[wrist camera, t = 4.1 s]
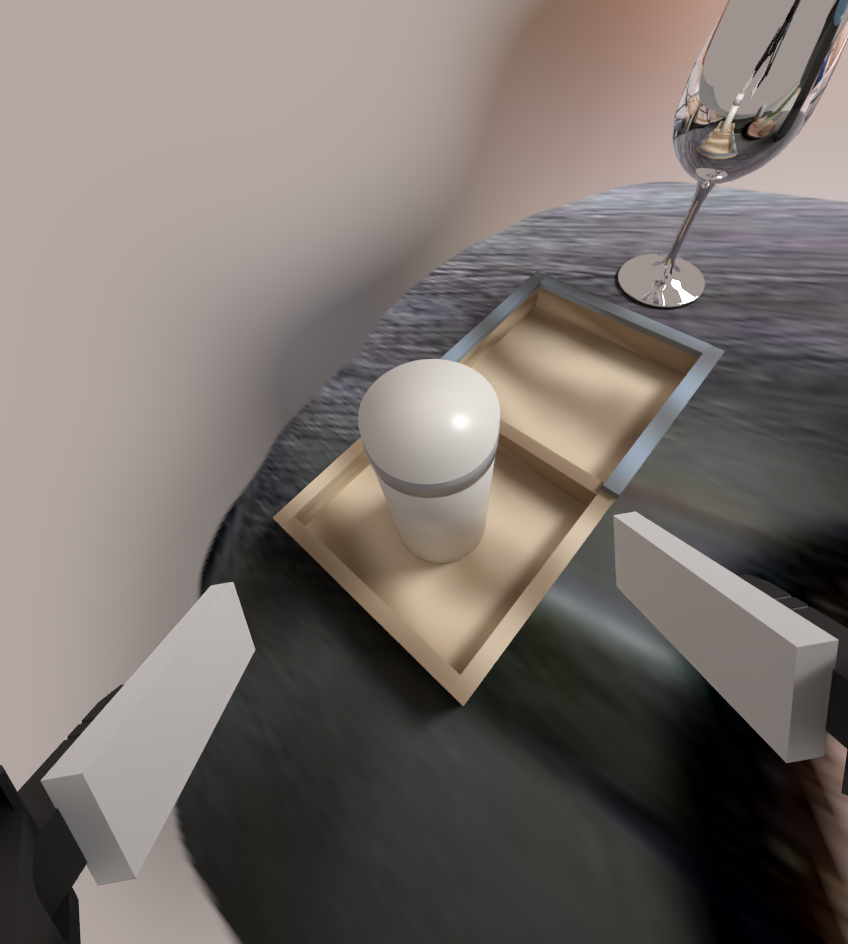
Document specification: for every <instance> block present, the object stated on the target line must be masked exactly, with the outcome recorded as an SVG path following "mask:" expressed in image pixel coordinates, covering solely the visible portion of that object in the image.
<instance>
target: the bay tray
mask: <svg viewBox="0 0 848 944" xmlns="http://www.w3.org/2000/svg"><path fill="white" fill-rule="evenodd" d="M724 352H725V351H723V350H720V349H718V348H716V347H713V346H711V345H710V344H708V343H705V342H703V341H701V340H698V339H696V338H694V337H691V336H689V335H686V334H684V333H682V332H679V331H677V330H675V329H672V328H670V327H668V326H665V325H663V324H661V323H658V322H656V321H654V320H651V319H649V318H647V317H644V316H642V315H639V314H637V313H635V312H632V311H630V310H628V309H625V308H623V307H621V306H618V305H616V304H614V303H611V302H609V301H607V300H604V299H602V298H600V297H597V296H595V295H593V294H590V293H588V292H585V291H583V290H581V289H578V288H576V287H574V286H571V285H569V284H567V283H564V282H562V281H560V280H557V279H555V278H553V277H550V276H548V275H545V274H542V273H540V272H537V271H536V272H535V273H534V274H533V275H532V276H531V277H530V278H529V279H527V280H526V281H525V282H524V283H523V284H522V285H521V286H520V287H519V288H518V289H516V290H515V291H514V292H513V293H512V294H511V295H510V296H509V297H508V298H507V299H505V300H504V301H503V302H502V303H501V304H500V305H499V306H498V307H497V308H496V309H494V310H493V311H492V312H491V313H490V314H489V315H488V316H487V317H486V318H485V319H483V320H482V321H481V322H480V323H479V324H478V325H477V326H476V327H475V328H474V329H472V330H471V331H470V332H469V333H468V334H467V335H466V336H465V337H464V338H463V339H461V340H460V341H459V342H458V343H457V344H456V345H455V346H454V347H453V348H451V349H450V350H449V351H448V352H447V353H446V354H445V355H444V356H443V357H442V358H440V359H443V360H450V361H454V362H458V363H460V364H463V365H466V366H468V367H470V368H472V369H474V370H475V371H477V372H478V373H480V374H481V375H482V376H483V377H484V378H485V379H486V380H487V381H488V382H489V383H490V384H491V386H492V387H493V389H494V390H495V393H496V395H497V397H498V401H499V404H500V430H499V439H498V446H497V451H496V455H495V459H494V467H493V474H492V482H491V489H490V496H489V504H488V511H487V518H486V526H485V531H484V534H483V537H482V539H481V541H480V543H479V544H478V546H477V547H476V548H475V549H474V550H473V551H472V552H471V553H470V554H469V555H467V556H466V557H464V558H462V559H460V560H458V561H454V562H451V563H432V562H428V561H425V560H422V559H420V558H418V557H417V556H415V555H414V554H412V553H411V552H410V551H409V550H408V549H407V548H406V546H405V545H404V543H403V542H402V540H401V538H400V535H399V532H398V530H397V527H396V525H395V522H394V520H393V517H392V514H391V512H390V509H389V507H388V504H387V501H386V499H385V496H384V494H383V491H382V489H381V486H380V483H379V481H378V478H377V476H376V473H375V471H374V469H373V467H372V466H371V463H370V461H369V458H368V455H367V453H366V450H365V448H364V445H363V441H362V437H360V438H359V439H358V440H357V441H356V442H355V443H354V444H353V445H352V446H350V447H349V448H348V449H347V450H346V451H345V452H344V453H343V454H342V455H341V456H340V457H338V458H337V459H336V460H335V461H334V462H333V463H332V464H331V465H330V466H329V467H328V468H326V469H325V470H324V471H323V472H322V473H321V474H320V475H319V476H318V477H317V478H315V479H314V480H313V481H312V482H311V483H310V484H309V485H308V486H307V487H306V488H305V489H303V490H302V491H301V492H300V493H299V494H298V495H297V496H296V497H295V498H294V499H293V500H291V501H290V502H289V503H288V504H287V505H286V506H285V507H284V508H283V509H282V510H281V511H279V512H278V513H277V514H276V515H275V516H274V517H273V519H274V520H275V521H276V522H277V523H278V524H279V525H280V526H281V527H282V528H283V529H284V530H285V531H286V532H287V533H288V534H289V535H290V536H291V537H292V538H293V539H294V540H295V541H296V542H297V543H298V544H299V545H300V546H301V547H302V548H304V549H305V550H306V551H307V552H308V553H309V554H310V555H311V556H312V557H313V558H314V559H315V560H316V561H317V562H318V563H319V564H320V565H321V566H322V567H323V568H324V569H325V570H326V571H327V572H328V573H329V574H330V575H331V576H332V577H333V578H334V579H335V580H336V581H337V582H338V583H339V584H340V585H341V586H342V587H343V588H344V589H345V590H346V591H347V592H348V593H349V594H350V595H351V596H352V597H353V598H354V599H355V600H356V601H357V602H358V603H359V604H360V605H361V606H362V607H363V608H364V609H365V610H366V611H367V612H368V613H369V614H370V615H371V616H372V617H373V618H374V619H375V620H376V621H377V622H378V623H379V624H380V625H381V626H382V627H383V628H384V629H385V630H386V631H387V632H388V633H390V634H391V635H392V636H393V637H394V638H395V639H396V640H397V641H398V642H399V643H400V644H401V645H402V646H403V647H404V648H405V649H406V650H407V651H408V652H409V653H410V654H411V655H412V656H413V657H414V658H415V659H416V660H417V661H418V662H419V663H420V664H421V665H422V666H423V667H424V668H425V669H426V670H427V671H428V672H429V673H430V674H431V675H432V676H433V677H434V678H435V679H436V680H437V681H438V682H439V683H440V684H441V685H442V686H443V687H444V688H445V689H446V690H447V691H448V692H449V693H450V694H451V695H452V696H453V697H454V698H455V699H456V700H457V701H458V702H459V703H460V704H461V705H462V706H464V705H465V703H466V702H467V701H468V699H469V698H470V696H471V695H472V694H473V692H474V691H475V690H476V688H477V687H478V686H479V684H480V683H481V681H482V680H483V679H484V677H485V676H486V675H487V673H488V672H489V671H490V669H491V668H492V666H493V665H494V664H495V662H496V661H497V660H498V658H499V657H500V656H501V654H502V653H503V651H504V650H505V649H506V647H507V646H508V645H509V643H510V642H511V641H512V639H513V638H514V637H515V635H516V634H517V632H518V631H519V630H520V628H521V627H522V626H523V624H524V623H525V622H526V620H527V619H528V617H529V616H530V615H531V613H532V612H533V611H534V609H535V608H536V607H537V605H538V604H539V602H540V601H541V600H542V598H543V597H544V596H545V594H546V593H547V592H548V590H549V589H550V587H551V586H552V585H553V583H554V582H555V581H556V579H557V578H558V577H559V575H560V574H561V572H562V571H563V570H564V568H565V567H566V566H567V564H568V563H569V562H570V560H571V559H572V557H573V556H574V555H575V553H576V552H577V551H578V549H579V548H580V547H581V545H582V544H583V542H584V541H585V540H586V538H587V537H588V536H589V534H590V533H591V532H592V530H593V529H594V527H595V526H596V525H597V523H598V522H599V521H600V519H601V518H602V517H603V515H604V514H605V512H606V511H607V510H608V508H609V507H610V506H611V504H612V503H613V502H614V500H615V499H617V498H618V496H619V495H620V494H621V492H622V491H623V490H624V488H625V487H626V486H627V484H628V483H629V481H630V480H631V479H632V477H633V476H634V475H635V473H636V472H637V471H638V469H639V468H640V466H641V465H642V464H643V462H644V461H645V460H646V458H647V457H648V455H649V454H650V453H651V451H652V450H653V449H654V447H655V446H656V445H657V443H658V442H659V440H660V439H661V438H662V436H663V435H664V434H665V432H666V431H667V430H668V428H669V427H670V425H671V424H672V423H673V421H674V420H675V419H676V417H677V416H678V415H679V413H680V412H681V410H682V409H683V408H684V406H685V405H686V404H687V402H688V401H689V399H690V398H691V397H692V395H693V394H694V393H695V391H696V390H697V389H698V387H699V386H700V384H701V383H702V382H703V380H704V379H705V378H706V376H707V375H708V374H709V372H710V371H711V369H712V368H713V367H714V365H715V364H716V363H717V361H718V360H719V359H720V357H721V356H722V354H723V353H724Z"/></svg>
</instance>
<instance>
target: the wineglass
mask: <svg viewBox="0 0 848 944" xmlns="http://www.w3.org/2000/svg"><path fill="white" fill-rule="evenodd" d="M847 40H848V0H728V1H727V3H726V5H725V7H724V8H723V10H722V12H721V14H720V16H719V18H718V20H717V22H716V24H715V26H714V28H713V30H712V31H711V33H710V35H709V37H708V39H707V41H706V43H705V45H704V47H703V49H702V51H701V53H700V55H699V57H698V59H697V61H696V63H695V66H694V67H693V70H692V72H691V74H690V76H689V79H688V81H687V84H686V86H685V88H684V91H683V93H682V95H681V98H680V100H679V104H678V107H677V111H676V114H675V118H674V125H673V137H672V139H673V144H674V150H675V154H676V157H677V159H678V161H679V162H680V164H681V165H682V167H683V169H684V170H685V172H687V173H688V174H689V175H690V176H691V177H693V178H694V179H695V180H697V186H696V191H695V194H694V197H693V200H692V203H691V205H690V207H689V210H688V212H687V214H686V217H685V219H684V221H683V223H682V225H681V227H680V230H679V232H678V234H677V236H676V238H675V240H674V243H673V245H672V247H671V249H670V251H669V253H668V255H664V254H647V255H641V256H637V257H635V258H632V259H630V260H629V261H627V262H626V263H625V264H624V265H623V266H622V267H621V268H620V270H619V272H618V283H619V285H620V287H621V289H622V290H623V291H624V292H625V293H626V294H627V295H628V296H629V297H631V298H633V299H634V300H636V301H638V302H641V303H643V304H646V305H650V306H654V307H661V308H673V307H680V306H684V305H687V304H690V303H692V302H694V301H695V300H697V299H698V298H699V297H700V296H701V295H702V294H703V291H704V289H705V280H704V276H703V275H702V273H701V272H700V271H699V270H698V269H697V268H696V267H695V266H694V265H692V264H691V263H689V262H687V261H686V260H684V259H681V258H678V257H676V256H677V254H678V252H679V249H680V247H681V245H682V243H683V241H684V239H685V237H686V235H687V233H688V231H689V229H690V227H691V225H692V223H693V221H694V219H695V217H696V215H697V213H698V211H699V209H700V207H701V205H702V203H703V202H704V200H705V199H706V197H707V195H708V194H709V192H710V191H711V190H712V188H713V187H714V186H715V185H716V184H720V183H724V182H728V181H733V180H736V179H738V178H741V177H743V176H745V175H747V174H749V173H752V172H754V171H756V170H758V169H759V168H761V167H763V166H764V165H765V164H766V163H768V162H769V161H771V160H772V159H773V158H775V157H776V156H778V155H779V154H780V153H781V152H782V151H783V150H784V149H785V148H786V147H787V146H788V144H789V143H791V141H792V140H793V139H794V138H795V137H796V136H797V135H798V134H799V132H800V130H801V129H802V128H803V126H804V125H805V123H806V122H807V120H808V119H809V117H810V116H811V114H812V113H813V111H814V109H815V107H816V105H817V103H818V101H819V100H820V98H821V96H822V94H823V92H824V90H825V88H826V86H827V84H828V82H829V80H830V78H831V76H832V74H833V71H834V70H835V68H836V66H837V63H838V61H839V59H840V57H841V54H842V52H843V50H844V47H845V45H846V42H847Z"/></svg>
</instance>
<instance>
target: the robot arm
mask: <svg viewBox="0 0 848 944" xmlns="http://www.w3.org/2000/svg"><path fill="white" fill-rule="evenodd" d="M613 518H614V540H615V562H616V585H617V587H618V588H619V589H620V590H621V592H622V593H623V594H624V595H625V596H626V597H627V598H628V599H629V600H630V601H631V602H632V603H633V604H634V605H635V606H636V607H637V608H638V609H639V610H640V611H641V612H642V613H643V614H644V615H645V616H646V617H647V619H648V620H649V621H650V622H651V623H652V624H653V625H654V626H655V627H656V628H657V629H658V630H659V631H660V632H661V633H662V634H663V635H664V636H665V637H666V638H667V639H668V640H669V641H670V642H671V643H672V645H673V646H674V647H675V648H676V649H677V650H678V651H679V652H680V653H681V654H682V655H683V656H684V657H685V658H686V659H687V660H688V661H689V662H690V663H691V664H692V665H693V666H694V667H695V668H696V669H697V670H698V672H699V673H700V674H701V675H702V676H703V677H704V678H705V679H706V680H707V681H708V682H709V683H710V684H711V685H712V686H713V687H714V688H715V689H716V690H717V691H718V692H719V693H720V694H721V695H722V696H723V698H724V699H725V700H726V701H727V702H728V703H729V704H730V705H731V706H732V707H733V708H734V709H735V710H736V711H737V712H738V713H739V714H740V715H741V716H742V717H743V718H744V719H745V720H746V721H747V722H748V723H749V725H750V726H751V727H752V728H753V729H754V730H755V731H756V732H757V733H758V734H759V735H760V736H761V737H762V738H763V739H764V740H765V741H766V742H767V743H768V744H769V745H770V746H771V747H772V748H773V749H774V751H775V752H776V753H777V754H778V755H779V756H780V757H781V758H782V759H783V760H784V761H785V762H786V763H789V762H795V761H801V760H806V759H812V758H818V757H823V756H824V754H825V746H826V738H827V732H828V733H830V734H831V735H832V736H833V737H834V738H835V739H837V740H838V741H839V742H840V743H841V744H842V745H843V746H845V747H846V748H847V749H848V628H846V627H844V626H842V625H841V624H839V623H837V622H836V621H834V620H832V619H831V618H829V617H827V616H826V615H824V614H822V613H821V612H819V611H817V610H816V609H814V608H812V607H811V608H809V607H808V605H807V604H805V603H804V602H802V601H800V600H799V599H797V598H795V597H793V598H792V597H791V595H790V594H789V593H787V592H785V591H783V590H782V589H780V588H778V587H777V586H775V585H773V584H772V583H770V582H767V581H764V580H761V579H758V578H756V577H753V576H750V575H747V574H743V575H735V574H734V573H732V572H730V571H729V570H727V569H726V568H724V567H722V566H721V565H719V564H718V563H716V562H715V561H713V560H711V559H710V558H708V557H707V556H705V555H703V554H702V553H700V552H699V551H697V550H696V549H694V548H692V547H691V546H689V545H688V544H686V543H684V542H683V541H681V540H680V539H678V538H677V537H675V536H673V535H672V534H670V533H669V532H667V531H665V530H664V529H662V528H661V527H659V526H658V525H656V524H654V523H653V522H651V521H650V520H648V519H646V518H645V517H643V516H642V515H640V514H639V513H637V512H630V513H624V514H619V515H613ZM254 651H255V647H254V644H253V641H252V638H251V635H250V632H249V629H248V626H247V623H246V620H245V617H244V614H243V610H242V607H241V604H240V601H239V598H238V595H237V592H236V589H235V586H234V583H233V582H229V583H223V584H218V585H212V586H210V587H209V588H208V590H207V591H206V592H205V593H204V594H203V595H202V596H201V598H200V599H199V600H198V601H197V602H196V603H195V604H194V606H193V607H192V608H191V609H190V610H189V611H188V612H187V614H186V615H185V616H184V617H183V618H182V619H181V620H180V622H179V623H178V624H177V625H176V626H175V627H174V628H173V630H172V631H171V632H170V633H169V634H168V635H167V637H166V638H165V639H164V640H163V641H162V642H161V643H160V645H159V646H158V647H157V648H156V649H155V650H154V651H153V652H152V654H151V655H150V656H149V657H148V658H147V659H146V660H145V662H144V663H143V664H142V665H141V666H140V667H139V668H138V670H137V671H136V672H135V673H134V674H133V675H132V677H131V678H130V679H129V680H128V681H127V682H126V683H125V684H124V685H120V686H119V687H118V688H116V689H115V690H114V691H112V692H111V693H110V694H109V695H107V696H106V697H105V698H104V699H102V700H101V701H100V702H98V703H97V705H96V706H95V707H94V708H93V709H92V710H91V711H90V712H89V713H88V715H87V716H86V717H85V718H84V719H83V720H82V724H79V725H78V726H77V727H76V728H75V729H74V730H73V731H72V732H71V733H70V734H69V736H68V739H67V740H64V741H63V742H62V743H61V744H60V746H59V747H58V748H57V749H56V750H55V751H54V752H53V753H52V754H51V755H50V757H49V758H48V759H47V760H46V761H45V762H44V763H43V764H42V765H41V766H40V768H39V769H38V770H37V771H36V772H35V773H34V774H33V775H32V776H31V778H30V779H29V780H28V781H27V782H26V783H25V784H24V785H23V787H21V789H20V790H19V791H18V792H17V791H16V789H15V787H14V785H13V784H12V782H11V780H10V779H9V777H8V775H7V773H6V771H5V770H4V768H3V767H2V766H1V765H0V944H81V943H80V922H79V904H78V898H77V896H76V894H75V891H74V890H73V888H72V886H73V884H74V883H75V881H76V880H77V878H78V876H79V875H80V873H81V872H82V870H83V869H84V867H85V866H86V865H87V866H88V868H89V870H90V872H91V874H92V876H93V877H94V879H95V881H96V883H97V885H102V884H108V883H114V882H119V881H125V880H130V879H136V878H137V876H138V874H139V872H140V870H141V868H142V866H143V864H144V862H145V860H146V858H147V856H148V855H149V853H150V851H151V849H152V847H153V845H154V843H155V841H156V839H157V837H158V835H159V834H160V832H161V830H162V828H163V826H164V824H165V822H166V820H167V818H168V816H169V814H170V813H171V811H172V809H173V807H174V805H175V803H176V801H177V799H178V797H179V795H180V793H181V791H182V790H183V788H184V786H185V784H186V782H187V780H188V778H189V776H190V774H191V772H192V770H193V768H194V766H195V765H196V763H197V761H198V759H199V757H200V755H201V753H202V751H203V749H204V747H205V745H206V743H207V742H208V740H209V738H210V736H211V734H212V732H213V730H214V728H215V726H216V724H217V722H218V720H219V719H220V717H221V715H222V713H223V711H224V709H225V707H226V705H227V703H228V701H229V699H230V697H231V695H232V694H233V692H234V690H235V688H236V686H237V684H238V682H239V680H240V678H241V676H242V674H243V672H244V671H245V669H246V667H247V665H248V663H249V661H250V659H251V657H252V655H253V653H254ZM841 793H842V794H845V795H848V750H847V757H846V764H845V771H844V778H843V785H842V792H841Z"/></svg>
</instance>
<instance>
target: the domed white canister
mask: <svg viewBox="0 0 848 944" xmlns="http://www.w3.org/2000/svg"><path fill="white" fill-rule="evenodd" d="M358 426H359V431H360V434H361V437H362V441H363V445H364V448H365V450H366V453H367V455H368V458H369V461H370V463H371V466H372V467H373V469H374V471H375V473H376V476H377V478H378V481H379V483H380V486H381V489H382V491H383V494H384V496H385V499H386V501H387V504H388V507H389V509H390V512H391V514H392V517H393V520H394V522H395V525H396V527H397V530H398V532H399V535H400V538H401V540H402V542H403V543H404V545H405V546H406V548H407V549H408V550H409V551H410V552H411V553H412V554H414V555H415V556H417V557H418V558H420V559H422V560H425V561H428V562H432V563H451V562H454V561H458V560H460V559H462V558H464V557H466V556H467V555H469V554H470V553H471V552H472V551H473V550H474V549H475V548H476V547H477V546H478V544H479V543H480V541H481V539H482V537H483V534H484V531H485V526H486V518H487V511H488V504H489V496H490V489H491V482H492V474H493V467H494V459H495V455H496V451H497V446H498V439H499V430H500V404H499V401H498V397H497V395H496V393H495V390H494V389H493V387H492V386H491V384H490V383H489V382H488V381H487V380H486V379H485V378H484V377H483V376H482V375H481V374H480V373H478V372H477V371H475V370H474V369H472V368H470V367H468V366H466V365H463V364H460V363H458V362H454V361H450V360H443V359H423V360H417V361H412V362H408V363H405V364H403V365H400V366H398V367H396V368H393V369H391V370H390V371H388V372H387V373H385V374H384V375H382V376H381V377H380V378H378V379H377V380H376V381H375V382H374V383H373V384H372V386H371V387H370V388H369V389H368V391H367V392H366V394H365V396H364V397H363V400H362V402H361V405H360V408H359V414H358Z"/></svg>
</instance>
